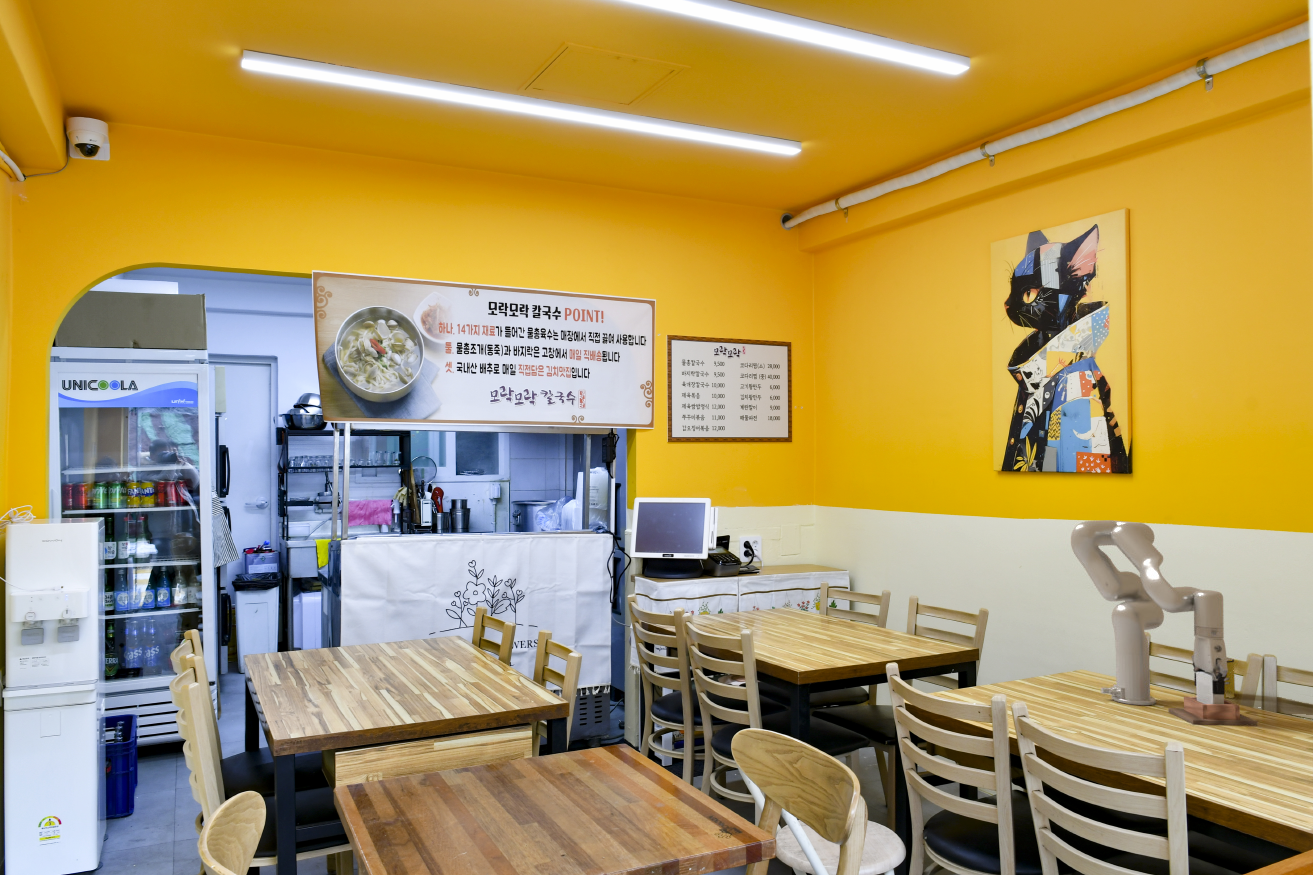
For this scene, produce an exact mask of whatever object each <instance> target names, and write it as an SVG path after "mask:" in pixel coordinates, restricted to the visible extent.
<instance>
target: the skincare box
mask: <svg viewBox="0 0 1313 875" xmlns="http://www.w3.org/2000/svg"><path fill="white" fill-rule="evenodd" d="M1195 673H1196V686H1195V687H1196V697H1197V701H1199V702H1201V703H1203V704H1224V699H1225V698H1224V695H1216V694H1213V693H1212V680H1214V678H1213V676H1212V673H1210V672H1195ZM1216 675H1218V674H1216Z"/></svg>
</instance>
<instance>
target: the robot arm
mask: <svg viewBox="0 0 1313 875" xmlns="http://www.w3.org/2000/svg"><path fill="white" fill-rule="evenodd" d="M1154 542H1155V533H1154V531H1153V529H1152V528H1151V527H1150V526H1149V525H1147V524H1146V523H1143V522H1132V521H1123V520H1122V521H1121V520H1110V519H1109V520H1088V521H1087V520H1086V521H1082V522H1080V523H1078V524H1077V525H1075V526H1074V528H1073V530H1072V532H1071V535H1070V546H1071V550H1072V552H1073V554H1074V555H1075V557H1076V558H1077V560H1078V561H1079V562H1080V564H1081V565H1082V567H1083V569H1085V571H1086V573H1087V576H1089V578H1090V580H1091V581H1092V582H1093V584H1094V586H1095V587H1096V589H1097V590H1098V592H1099V594H1100V595H1101V597H1103V599H1105V600H1106V601H1109V602H1121V603H1118V604H1117V605H1116V606H1115V607H1114V608H1113V609H1112V612H1111V622H1112V623H1111V624H1112V626H1113V632H1114V639H1115V640H1114V641H1115V643H1114V644H1115V668H1116V669H1115V670H1116V671H1115V672H1116V673H1115V675H1116V676H1115V678H1116V683H1115V684H1113V686H1111V687H1107V686H1106V687H1102V686H1101V688H1100V693H1101V694H1102V695H1103V694H1104V695H1107V694H1108V695H1110V696H1111V700H1113V701H1115V702H1118V703H1120V704H1121V703H1122V704H1128V705H1135V706H1151V705H1155V704H1156V703H1157V700H1156V698H1155V697H1153V696H1151V677H1150V676H1151V674H1150V672H1151V671H1150V646H1149V641H1148V638H1147V634H1146V632H1145V631H1148V630H1149V631H1150V630H1155V629H1157V628H1159V627H1161V625H1162V624H1163V622H1164V618H1165V614H1164V612H1167V613H1170V614H1177V613H1178V614H1179V613H1188V612H1193V627H1194V628H1193V631H1194V633H1193V636H1194V641H1193V642H1194V643H1193V654H1192V655H1191V660H1192V666H1193V673H1194V678H1193V679H1194V686H1195V687H1196V672H1205V671H1207V672H1210V673H1212V676H1213V678H1214V680H1212V693H1213V694H1216V695H1224V694H1225V681H1226V676H1227V675H1226V674H1227V671H1228V668H1227V658H1228V657H1227V649H1226V644H1225V640H1224V639H1225V638H1224V637H1225V636H1224V634H1225V633H1224V632H1225V631H1224V596H1223V594H1222V592H1220V591H1218V590H1217V591H1216V590H1207V589H1200V588H1197V587H1192V586H1176V587H1173V586H1172V585H1171V584H1170V583H1169V582H1168V581H1167V580H1166V579H1165V577H1164V576H1163V575H1162V572H1161V569H1160V566H1161V565H1162V563H1163V562H1164V556H1163V554H1162V553H1161V552H1160V551H1159V550H1158V549H1157V548H1156V547H1155V546H1154V545H1153V543H1154ZM1099 546H1100V547H1101V546H1103V547H1104V546H1116V547H1117V548H1118V549H1119V551H1120V552H1121V553H1122V554H1123V556H1125V557H1126V559H1128V561H1129V562H1130V563H1131V564H1132V565H1133V566H1134V567H1135V568H1136V570H1137V571H1138V572H1139V575H1138V574H1136V573H1135V572H1132V571H1120V570H1119V569H1118V568H1117V567H1116V565H1115V564H1114V563H1113V561H1112V559H1111V558H1110V557H1109V556H1108V555H1107V554H1106V552H1104V551H1103V550H1102V549H1100V547H1099ZM1216 674H1218V675H1216Z"/></svg>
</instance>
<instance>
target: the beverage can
mask: <svg viewBox="0 0 1313 875" xmlns="http://www.w3.org/2000/svg"><path fill="white" fill-rule="evenodd" d="M1228 660H1232V661H1228ZM1227 668H1228V671H1227V674H1226V675H1227V676H1226V681H1225V690H1226V692H1227V690H1229V691H1235V692H1236V689H1235V687H1236V686H1235V685H1236V684H1235V682H1236V680H1235V679H1236V678H1235V659H1234V658H1230V657H1227ZM1233 670H1234V671H1233ZM1205 672H1207V671H1205ZM1230 672H1231V673H1230ZM1224 699H1230V698H1229V697H1226V694H1224Z"/></svg>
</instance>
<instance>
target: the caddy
mask: <svg viewBox="0 0 1313 875" xmlns="http://www.w3.org/2000/svg"><path fill="white" fill-rule="evenodd" d="M1240 708H1241V707H1240V705H1239V704H1237V703H1235V702H1232V701H1229V700H1227V699H1226V698H1224V704H1203V703H1201V702H1199V701H1197V696H1183V708H1178V707H1177V708H1173V707H1168V708H1167V709H1168V713H1169V714H1171V715H1173V716H1176V717H1177V718H1179V719H1181V720H1182V721H1186V722H1187V723H1189V724H1192V725H1196V726H1197V725H1198V726H1199V725H1202V726H1203V725H1204V726H1205V725H1206V726H1207V725H1209V726H1213V725H1214V726H1220V725H1219V724H1222V725H1221V726H1258V721H1257V720H1255V719H1253V718H1251V717H1248V716H1247V715H1245V714H1241V712H1240V711H1241V710H1240ZM1223 724H1224V725H1223Z"/></svg>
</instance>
